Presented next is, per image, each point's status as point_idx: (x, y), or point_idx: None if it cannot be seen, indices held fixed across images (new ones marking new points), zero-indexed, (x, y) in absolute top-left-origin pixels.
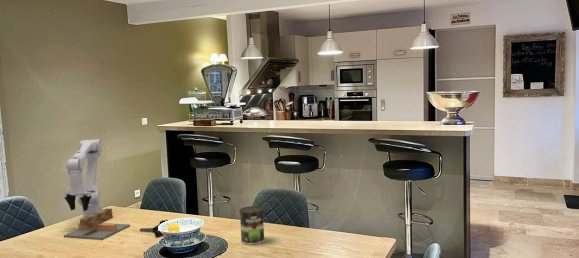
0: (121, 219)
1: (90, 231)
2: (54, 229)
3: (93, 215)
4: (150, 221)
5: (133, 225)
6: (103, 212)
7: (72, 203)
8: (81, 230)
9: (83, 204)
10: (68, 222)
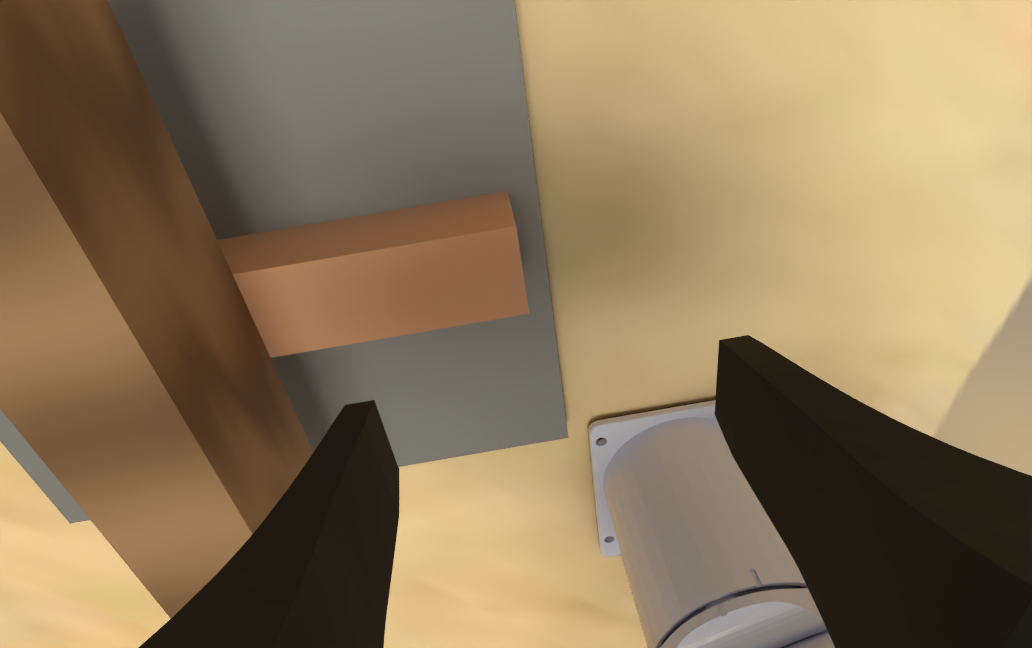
0: (410, 584)
1: (241, 188)
2: (947, 127)
3: (3, 347)
4: (66, 635)
5: (83, 530)
6: (105, 530)
7: (804, 494)
8: (425, 174)
9: (274, 528)
10: (924, 368)
